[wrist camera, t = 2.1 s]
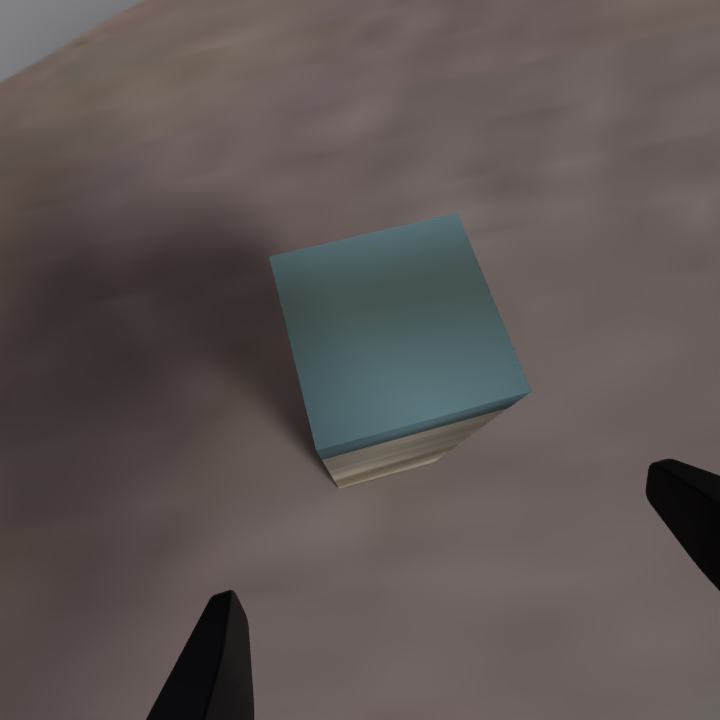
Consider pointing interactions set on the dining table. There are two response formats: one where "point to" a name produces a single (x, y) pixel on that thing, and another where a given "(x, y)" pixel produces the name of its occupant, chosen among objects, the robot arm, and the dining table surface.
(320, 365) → the birch block
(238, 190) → the dining table surface
